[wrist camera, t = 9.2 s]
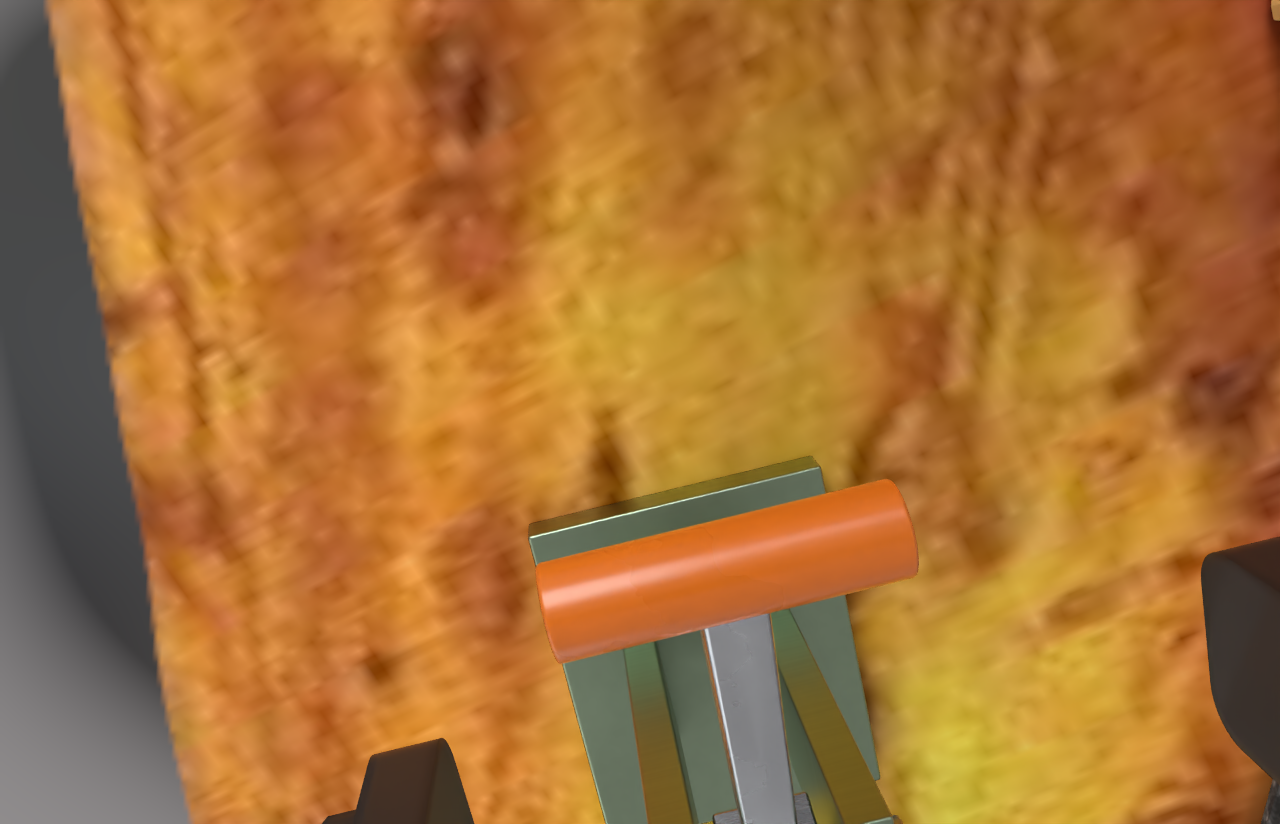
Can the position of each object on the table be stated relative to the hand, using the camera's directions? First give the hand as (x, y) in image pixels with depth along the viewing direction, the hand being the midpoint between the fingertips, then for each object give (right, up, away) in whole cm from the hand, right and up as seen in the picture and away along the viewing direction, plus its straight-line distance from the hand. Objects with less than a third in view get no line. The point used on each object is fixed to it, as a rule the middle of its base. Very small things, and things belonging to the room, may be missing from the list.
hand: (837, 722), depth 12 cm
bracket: (0, -4, +25) cm, 25 cm away
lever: (0, -3, +11) cm, 11 cm away
